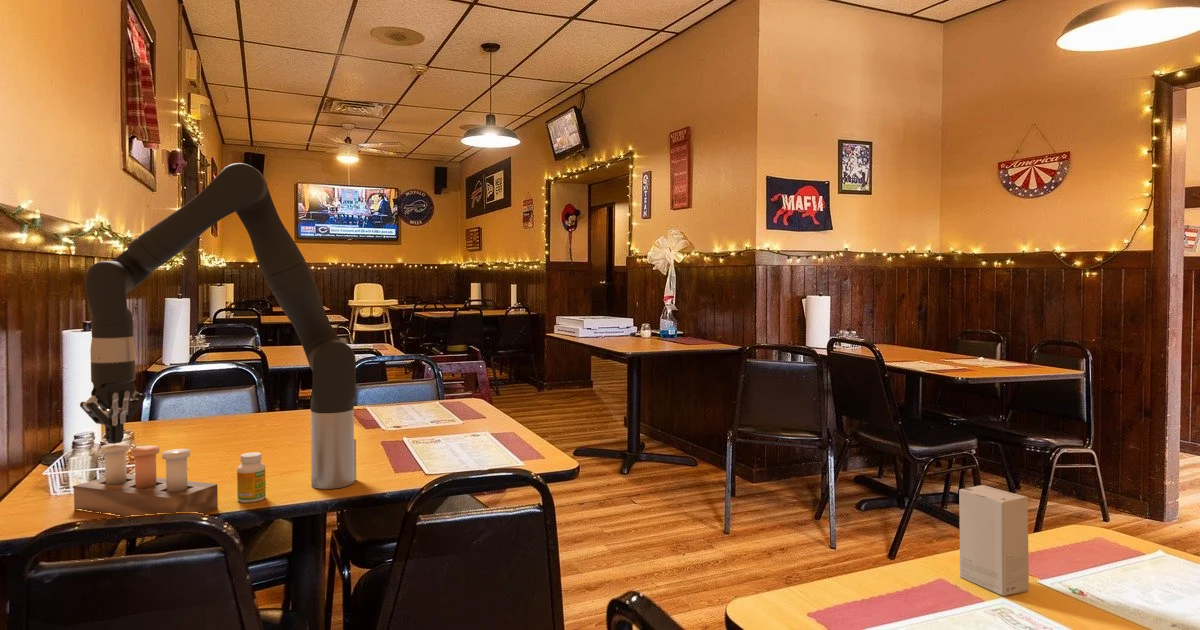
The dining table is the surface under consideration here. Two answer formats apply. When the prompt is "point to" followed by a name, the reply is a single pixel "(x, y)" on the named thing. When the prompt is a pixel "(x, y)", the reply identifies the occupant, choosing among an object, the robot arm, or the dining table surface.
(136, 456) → the terracotta plug
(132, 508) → the walnut socket board
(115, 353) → the robot arm
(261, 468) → the supplement bottle
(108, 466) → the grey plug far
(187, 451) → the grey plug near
